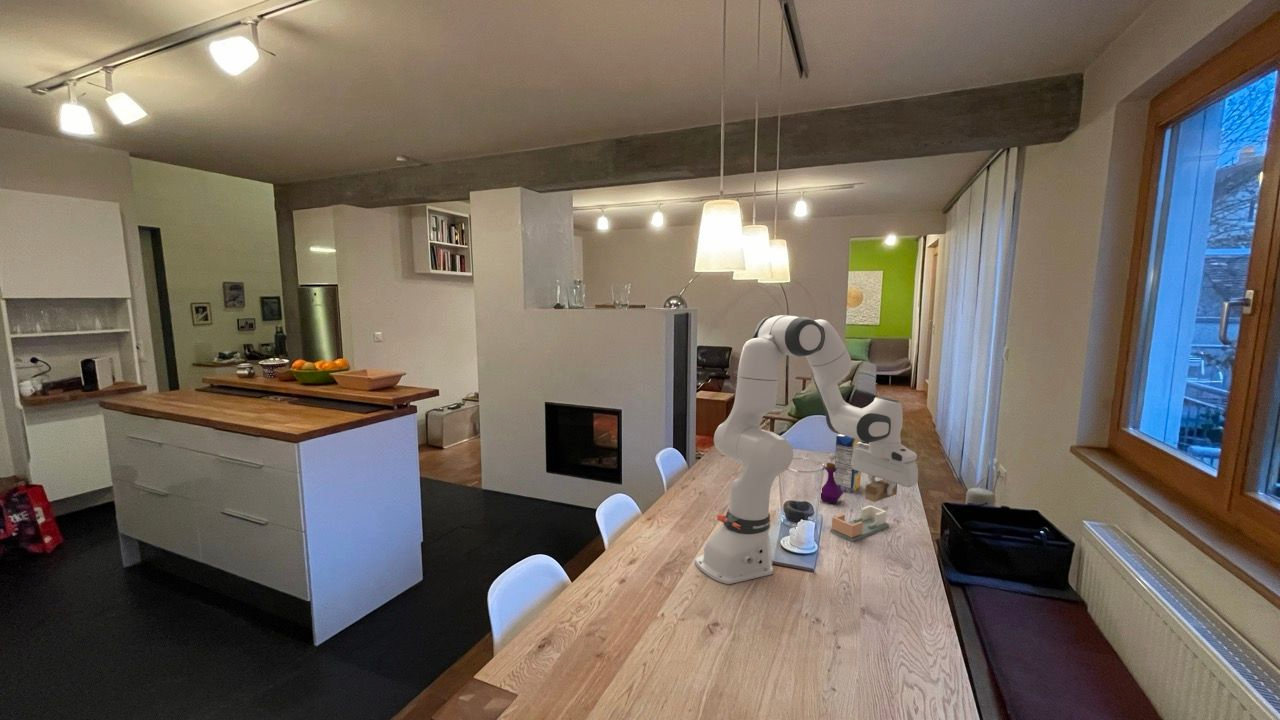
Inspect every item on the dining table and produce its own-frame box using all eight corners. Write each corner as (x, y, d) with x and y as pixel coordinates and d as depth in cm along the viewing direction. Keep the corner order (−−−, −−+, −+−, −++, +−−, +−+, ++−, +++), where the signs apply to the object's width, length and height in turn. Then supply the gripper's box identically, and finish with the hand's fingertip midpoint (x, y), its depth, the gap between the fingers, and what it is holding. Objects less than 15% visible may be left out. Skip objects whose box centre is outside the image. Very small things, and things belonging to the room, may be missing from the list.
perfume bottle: (837, 506, 179) (840, 459, 177) (816, 501, 183) (819, 455, 181) (842, 500, 185) (845, 454, 182) (822, 495, 189) (825, 450, 187)
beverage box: (833, 488, 196) (836, 435, 193) (843, 481, 204) (846, 430, 202) (850, 493, 191) (854, 438, 189) (860, 486, 200) (863, 433, 197)
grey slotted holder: (852, 542, 152) (853, 526, 151) (830, 531, 159) (831, 517, 158) (888, 526, 163) (889, 512, 162) (866, 517, 169) (867, 504, 169)
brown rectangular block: (874, 502, 149) (875, 487, 149) (865, 498, 152) (866, 484, 151) (896, 494, 156) (897, 480, 155) (887, 491, 158) (888, 477, 158)
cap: (851, 537, 152) (852, 526, 152) (831, 528, 158) (832, 517, 158) (862, 533, 155) (863, 522, 155) (842, 524, 161) (842, 513, 161)
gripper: (848, 441, 159) (845, 482, 161) (910, 459, 142) (907, 504, 143) (860, 439, 162) (857, 479, 164) (922, 455, 145) (919, 500, 147)
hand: (881, 491), depth 153 cm, fingers closed on brown rectangular block, 3 cm apart
